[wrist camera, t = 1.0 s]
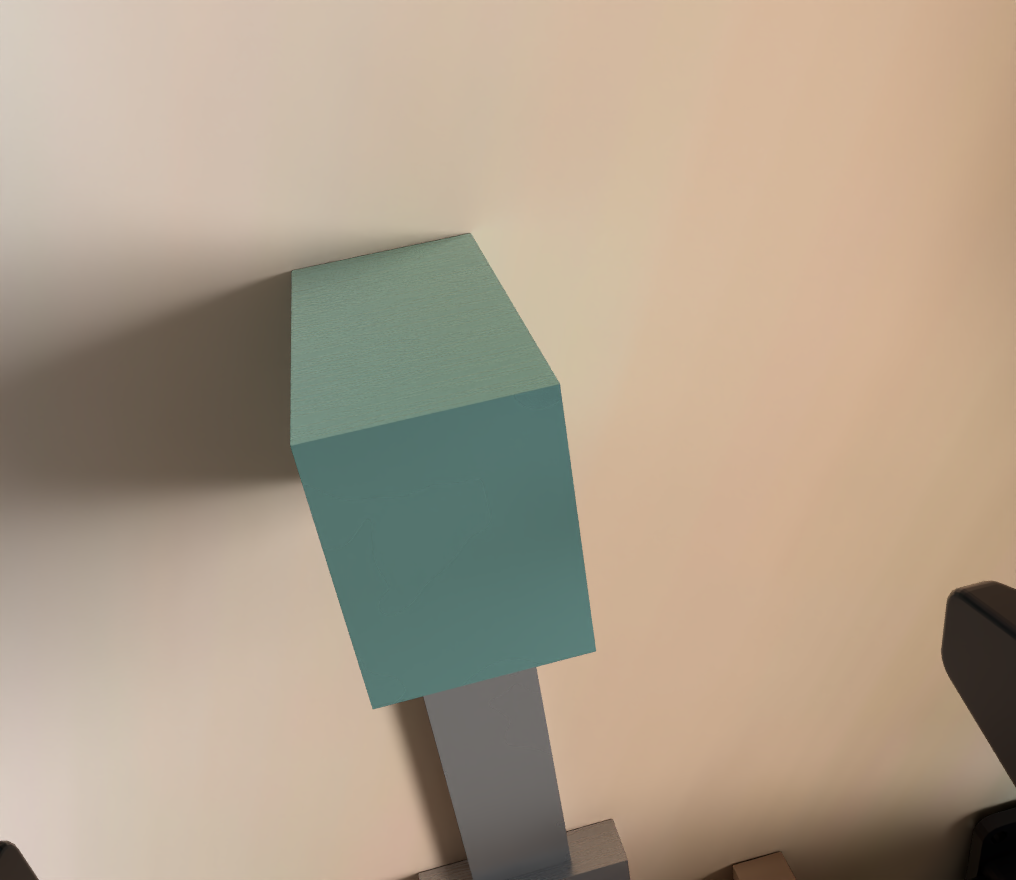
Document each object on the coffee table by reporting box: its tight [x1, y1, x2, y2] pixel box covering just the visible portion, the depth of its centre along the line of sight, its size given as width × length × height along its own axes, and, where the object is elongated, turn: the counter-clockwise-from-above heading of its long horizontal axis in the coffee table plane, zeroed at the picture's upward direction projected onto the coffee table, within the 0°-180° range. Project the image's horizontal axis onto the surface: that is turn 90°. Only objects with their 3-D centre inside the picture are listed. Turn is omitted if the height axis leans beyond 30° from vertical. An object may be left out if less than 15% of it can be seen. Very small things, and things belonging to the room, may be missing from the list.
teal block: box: [290, 233, 630, 880], centre depth 17 cm, size 5×16×6 cm, turn 9°
